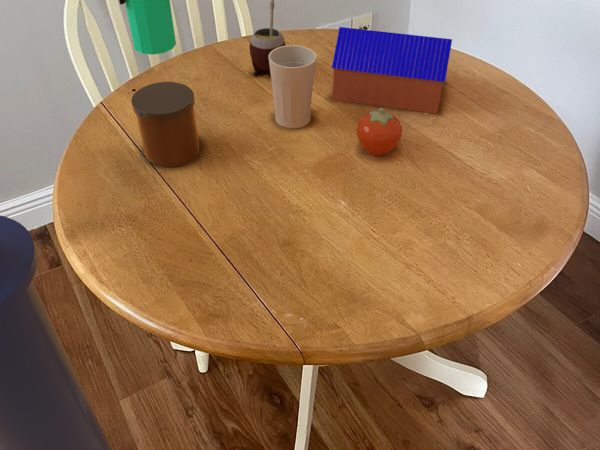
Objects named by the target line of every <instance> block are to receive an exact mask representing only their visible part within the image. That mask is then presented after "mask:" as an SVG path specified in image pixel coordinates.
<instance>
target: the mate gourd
mask: <svg viewBox="0 0 600 450" xmlns="http://www.w3.org/2000/svg"><path fill="white" fill-rule="evenodd" d="M269 8H270V11H269V12H270V13H269V15H270V16H269V18H270V19H269V27H266V28H265V27H263V28H259V29H257V30H256V31H254V33H253V34H252V35H251V37H250V39H249V56H250V59H251V64H252V67H253V70H254V72H253V76H254V77H259V76H262V75H269V77H271V73H270V65H269V58H268V56H269V54H270V52H271V51H272V50H274V49H276V48H278V47H282V46H287V45H286V41H285V37H284V35H283V34H282V33H281V32H280V31H279V30H278V29H275V28H274V9H275V0H270V2H269Z"/></svg>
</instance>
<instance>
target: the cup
mask: <svg viewBox="0 0 600 450" xmlns="http://www.w3.org/2000/svg"><path fill="white" fill-rule="evenodd" d="M317 55H318V54H317V53H316V52H315V51H314V50H313V49H311V48H309V47H307V46H303V45H296V44H290V45H288V44H287V45H286V46H282V47H278V48H276V49H274V50H272V51H271V52H270V54H269V56H268V58H269V65H270V73H271V76H270V81H271V88H272V96H273V97H272V99H273V106H274V120H275V122H276V123H277V125H278V126H281V127H283V128H287V129H299V128H303V127H305V126H307V125H308V124H309V123H310V121H311V117H312V116H311V115H312V112H311V111H312V110H311V108H312V99H313V91H314V79H315V74H316V66H317V58H318V56H317Z"/></svg>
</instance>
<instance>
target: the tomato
mask: <svg viewBox="0 0 600 450" xmlns="http://www.w3.org/2000/svg"><path fill="white" fill-rule="evenodd" d="M355 131H356V137H357V139H358V142H359V145H360V146H361V148H362V149H363V150H364V151H365V152H366V153H368V154H369V155H370V156H371V155H372V156H376V157H380V156H385V155H387V154H389V153H390V152H393V150H394V149H395V148H396V146H397V145H398V144H399V142H400V140H401V138H402V134H403V126H402V124H401V122H400V119H399V118H397V117H396V116H395V115H394V114H393V113H390V112H388V111H387V110H386V109H384V107H379V108H378V110H371V111H370V112H367V113H366V114H364V115H363V116H361V118H360V119H359V120H358V122H357V126H356V130H355Z"/></svg>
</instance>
